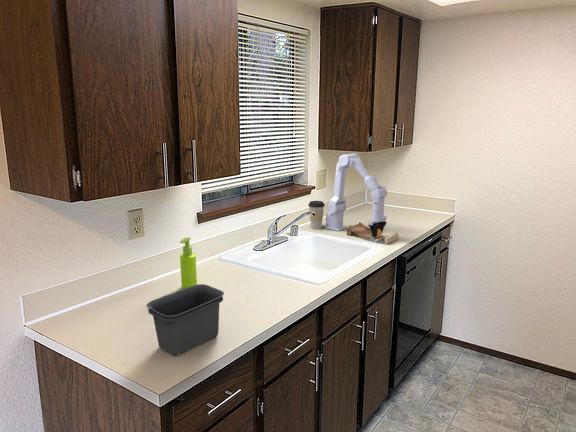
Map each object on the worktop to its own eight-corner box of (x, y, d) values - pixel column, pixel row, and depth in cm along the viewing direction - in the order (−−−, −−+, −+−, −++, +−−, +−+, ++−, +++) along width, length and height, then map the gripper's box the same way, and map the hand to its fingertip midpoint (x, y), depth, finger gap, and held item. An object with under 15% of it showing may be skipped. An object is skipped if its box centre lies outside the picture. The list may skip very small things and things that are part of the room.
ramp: (346, 236, 253) (347, 225, 251) (356, 232, 260) (356, 221, 258) (368, 241, 244) (369, 229, 242) (378, 237, 251) (378, 225, 249)
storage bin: (172, 364, 129) (169, 317, 126) (141, 345, 139) (137, 301, 135) (230, 336, 145) (228, 293, 141) (198, 321, 154) (196, 280, 151)
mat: (363, 239, 244) (364, 233, 243) (375, 234, 253) (375, 228, 252) (386, 244, 236) (387, 238, 235) (398, 239, 244) (398, 233, 244)
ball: (370, 238, 245) (370, 228, 244) (375, 236, 249) (375, 227, 248) (378, 239, 242) (379, 230, 241) (383, 237, 246) (383, 228, 245)
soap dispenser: (177, 290, 179) (174, 240, 174) (185, 283, 186) (183, 235, 181) (192, 291, 178) (189, 241, 173) (199, 284, 184) (197, 236, 179)
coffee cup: (316, 224, 273) (316, 199, 269) (327, 228, 266) (328, 202, 262) (304, 227, 267) (304, 201, 264) (315, 230, 260) (316, 204, 257)
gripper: (377, 214, 234) (376, 240, 238) (391, 209, 245) (390, 234, 248) (365, 212, 239) (364, 237, 242) (380, 207, 249) (378, 231, 253)
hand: (376, 235), depth 245 cm, fingers closed on ball, 5 cm apart
